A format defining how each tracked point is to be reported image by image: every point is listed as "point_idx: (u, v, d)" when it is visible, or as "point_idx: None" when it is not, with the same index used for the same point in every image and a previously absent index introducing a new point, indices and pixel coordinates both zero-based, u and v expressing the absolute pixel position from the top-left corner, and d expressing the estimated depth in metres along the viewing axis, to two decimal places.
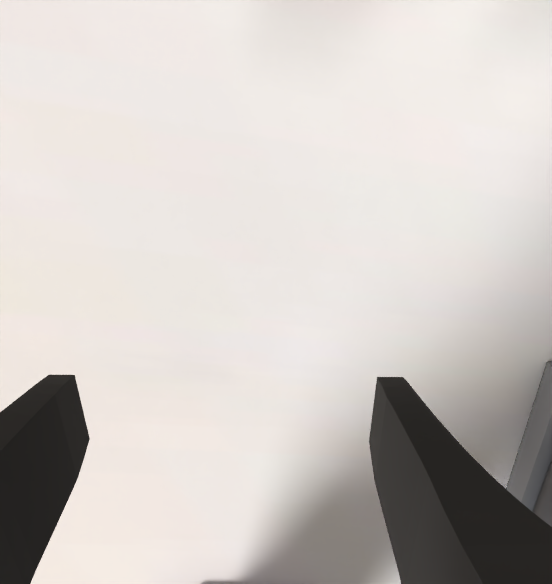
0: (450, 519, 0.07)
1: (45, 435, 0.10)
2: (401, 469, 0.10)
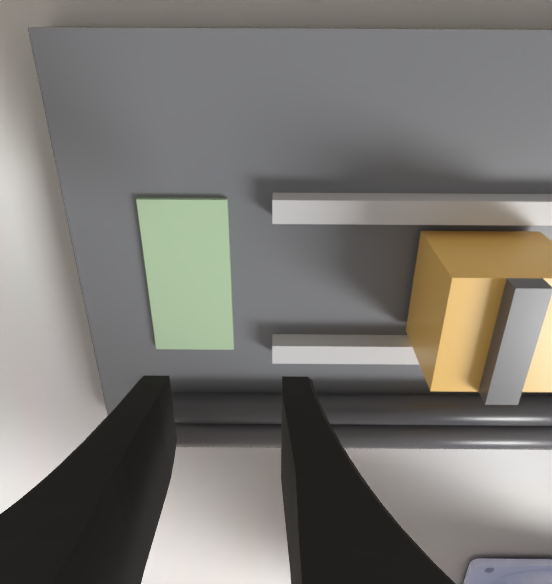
0: (299, 518, 0.07)
1: (152, 436, 0.10)
2: (288, 468, 0.10)
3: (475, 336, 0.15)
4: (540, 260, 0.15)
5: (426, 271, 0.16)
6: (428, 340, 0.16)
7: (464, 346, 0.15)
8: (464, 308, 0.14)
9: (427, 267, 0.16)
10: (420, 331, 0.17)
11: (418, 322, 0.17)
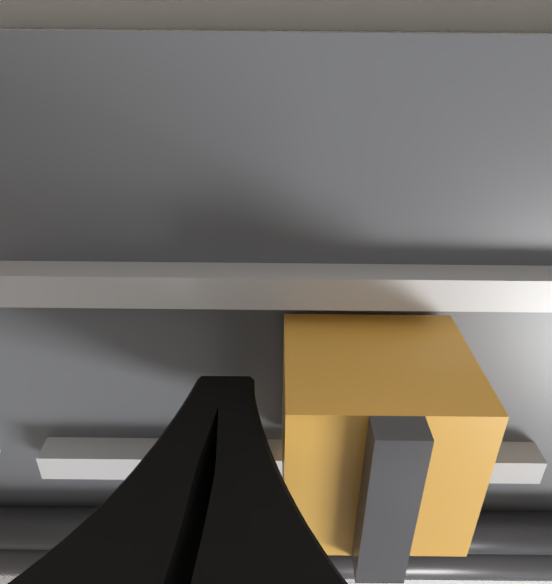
0: (207, 517, 0.07)
1: None
2: None
3: (335, 489, 0.10)
4: (433, 375, 0.10)
5: None
6: None
7: (321, 501, 0.10)
8: (312, 454, 0.09)
9: None
10: (282, 455, 0.12)
11: (282, 440, 0.12)
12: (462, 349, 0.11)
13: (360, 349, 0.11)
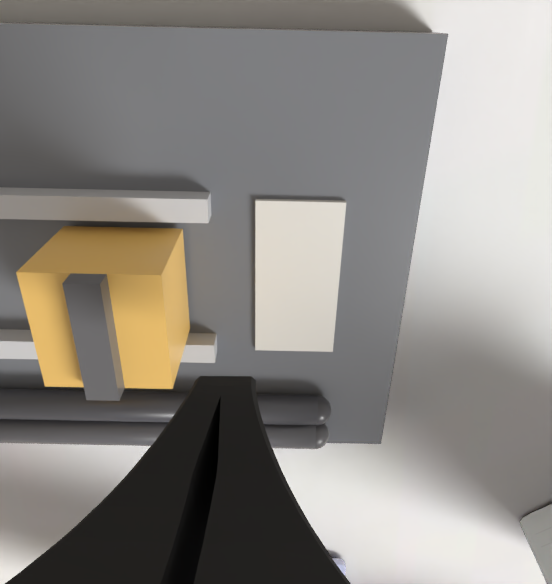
0: (210, 517, 0.07)
1: (216, 436, 0.10)
2: None
3: (65, 331, 0.15)
4: (134, 256, 0.15)
5: None
6: None
7: (58, 341, 0.15)
8: (42, 303, 0.14)
9: None
10: None
11: None
12: (169, 245, 0.16)
13: (98, 244, 0.16)
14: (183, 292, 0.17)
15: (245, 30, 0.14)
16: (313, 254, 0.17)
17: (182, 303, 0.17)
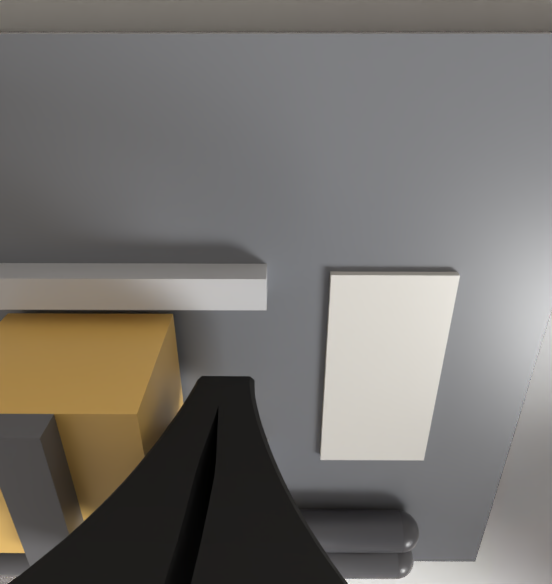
0: (207, 517, 0.07)
1: None
2: None
3: None
4: (99, 373, 0.10)
5: None
6: None
7: None
8: None
9: None
10: None
11: None
12: (153, 347, 0.11)
13: (50, 348, 0.11)
14: (176, 399, 0.12)
15: (328, 36, 0.09)
16: (407, 343, 0.13)
17: (174, 416, 0.12)
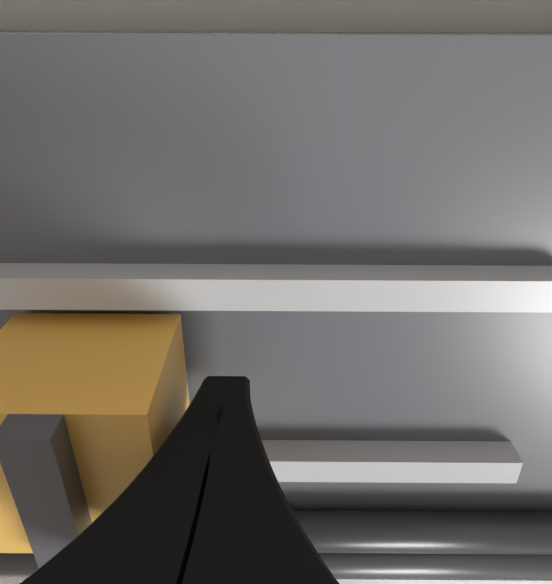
0: (200, 517, 0.07)
1: None
2: None
3: (8, 488, 0.10)
4: (108, 374, 0.10)
5: None
6: None
7: None
8: None
9: None
10: None
11: None
12: (161, 348, 0.11)
13: (58, 348, 0.11)
14: (183, 399, 0.12)
15: None
16: None
17: None
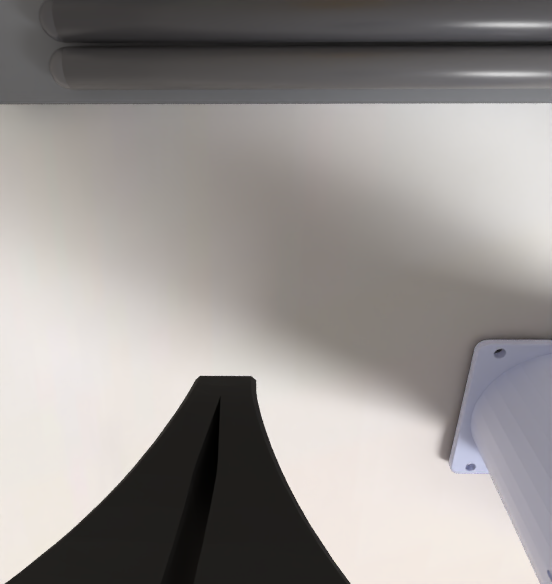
0: (210, 517, 0.07)
1: (215, 436, 0.10)
2: None
3: None
4: None
5: None
6: None
7: None
8: None
9: None
10: None
11: None
12: None
13: None
14: None
15: None
16: None
17: None
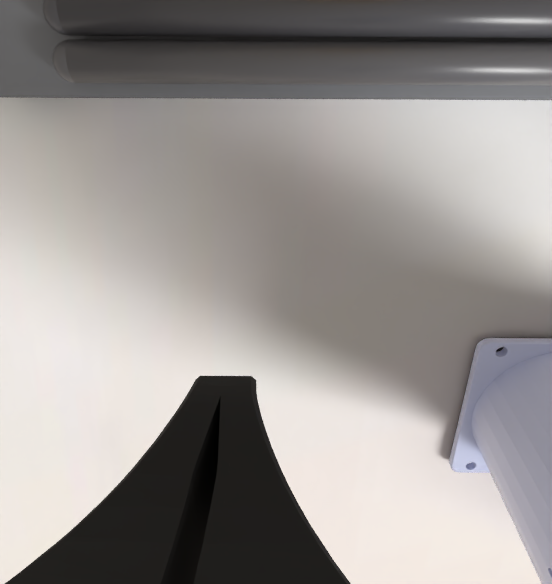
0: (210, 517, 0.07)
1: (216, 436, 0.10)
2: None
3: None
4: None
5: None
6: None
7: None
8: None
9: None
10: None
11: None
12: None
13: None
14: None
15: None
16: None
17: None
